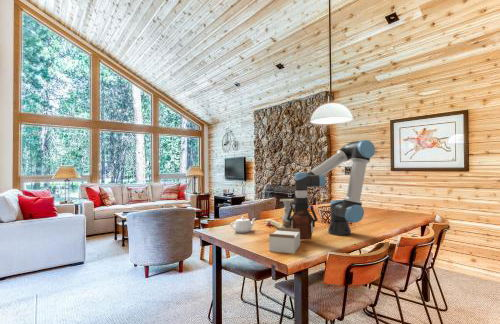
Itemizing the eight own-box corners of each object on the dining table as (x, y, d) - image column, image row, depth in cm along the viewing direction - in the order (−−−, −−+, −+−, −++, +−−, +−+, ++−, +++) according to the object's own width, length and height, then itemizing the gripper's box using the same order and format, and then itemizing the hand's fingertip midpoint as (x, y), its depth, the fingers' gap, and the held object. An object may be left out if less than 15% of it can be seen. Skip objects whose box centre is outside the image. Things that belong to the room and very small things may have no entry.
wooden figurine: (308, 236, 179) (307, 208, 180) (313, 239, 173) (312, 210, 173) (291, 238, 176) (290, 209, 176) (295, 240, 170) (294, 211, 170)
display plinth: (300, 244, 168) (299, 228, 168) (294, 253, 151) (294, 235, 151) (277, 242, 173) (277, 227, 173) (269, 251, 156) (269, 233, 156)
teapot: (235, 235, 192) (235, 219, 192) (225, 231, 204) (225, 216, 204) (261, 230, 204) (261, 216, 205) (251, 227, 216) (250, 213, 216)
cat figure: (290, 231, 208) (270, 222, 229) (290, 219, 207) (271, 212, 229) (279, 233, 203) (260, 224, 224) (279, 221, 202) (261, 213, 224)
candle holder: (295, 236, 188) (294, 200, 189) (278, 235, 191) (278, 200, 191) (295, 232, 199) (295, 198, 200) (280, 231, 201) (279, 198, 202)
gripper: (321, 196, 174) (322, 231, 174) (284, 196, 183) (285, 229, 182) (320, 198, 167) (321, 234, 167) (281, 197, 175) (282, 232, 175)
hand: (302, 231), depth 175 cm, fingers closed on wooden figurine, 11 cm apart
